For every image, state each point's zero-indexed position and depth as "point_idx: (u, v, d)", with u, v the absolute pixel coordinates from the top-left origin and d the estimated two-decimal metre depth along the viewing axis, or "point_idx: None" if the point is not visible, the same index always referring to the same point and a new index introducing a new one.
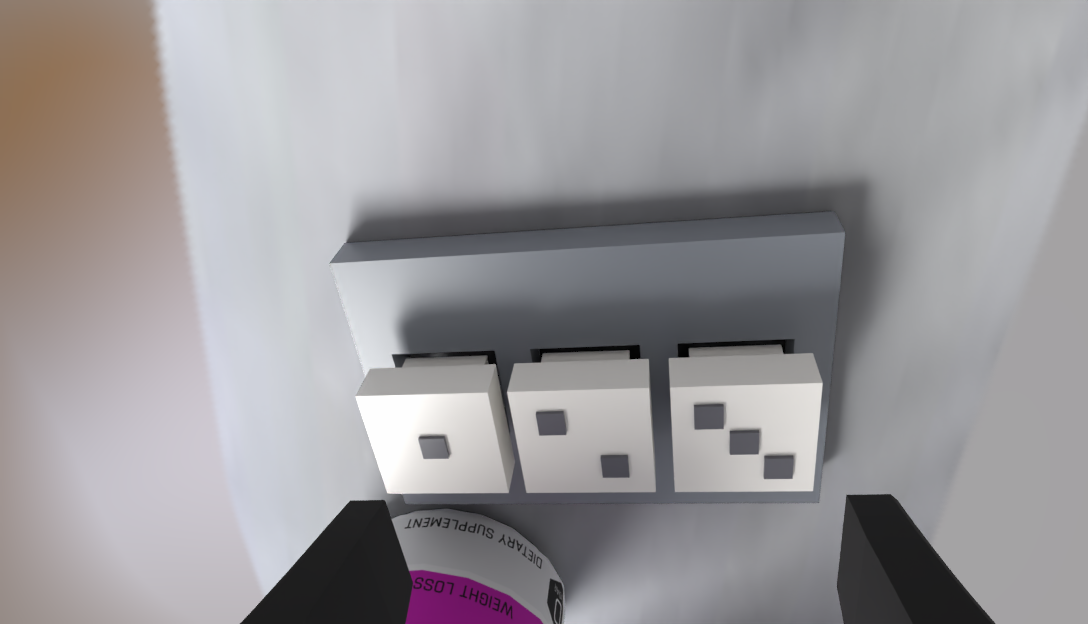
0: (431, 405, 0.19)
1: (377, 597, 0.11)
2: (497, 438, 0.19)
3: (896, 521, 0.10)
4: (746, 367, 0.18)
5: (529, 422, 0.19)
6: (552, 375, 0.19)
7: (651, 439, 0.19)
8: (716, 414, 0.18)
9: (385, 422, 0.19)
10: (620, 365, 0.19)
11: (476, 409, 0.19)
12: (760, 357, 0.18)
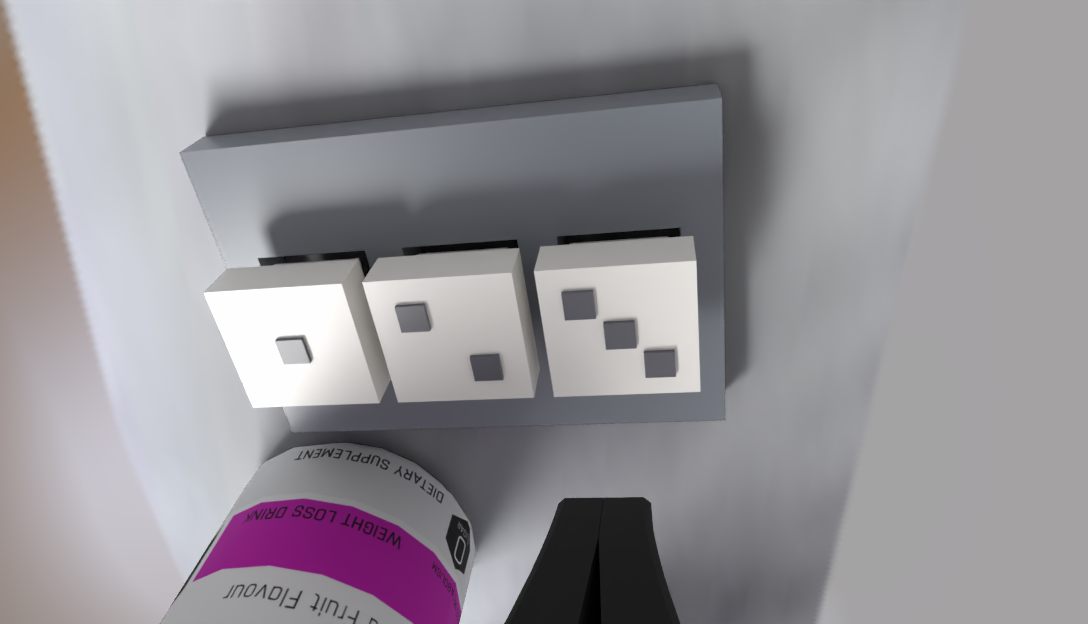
0: (284, 301, 0.17)
1: None
2: (359, 338, 0.18)
3: (633, 523, 0.10)
4: (619, 251, 0.16)
5: (390, 317, 0.17)
6: (414, 266, 0.17)
7: (522, 335, 0.17)
8: (587, 303, 0.16)
9: (239, 322, 0.18)
10: (487, 254, 0.17)
11: (332, 304, 0.17)
12: (636, 242, 0.17)
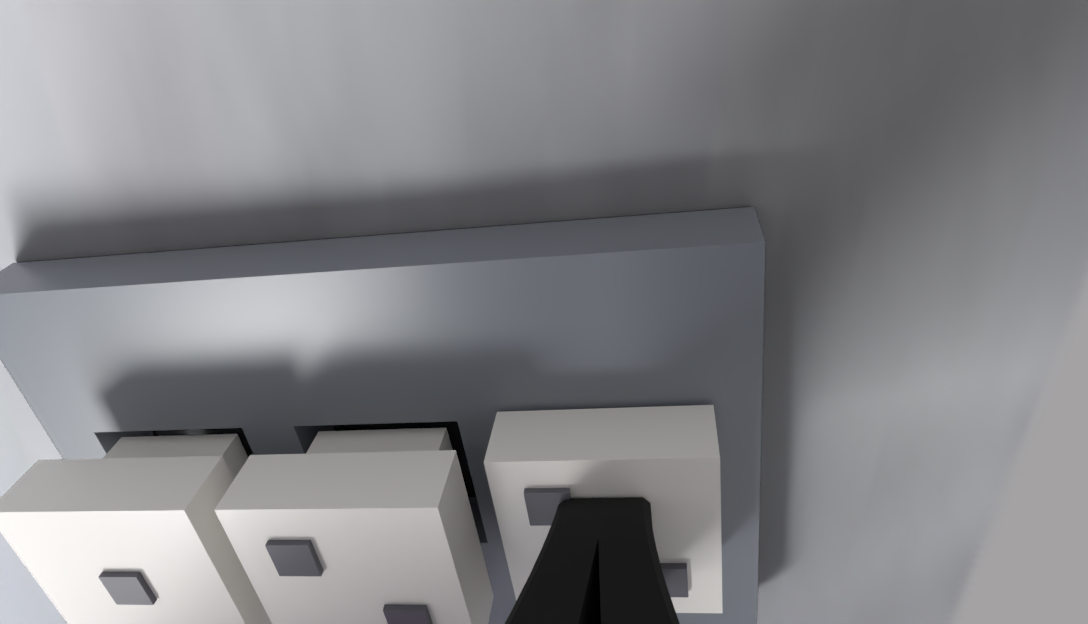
0: (105, 527, 0.12)
1: None
2: (222, 576, 0.12)
3: (633, 522, 0.10)
4: (608, 428, 0.11)
5: (262, 555, 0.11)
6: (297, 479, 0.11)
7: (459, 583, 0.11)
8: None
9: (45, 550, 0.12)
10: (407, 462, 0.11)
11: (175, 534, 0.11)
12: (633, 411, 0.12)
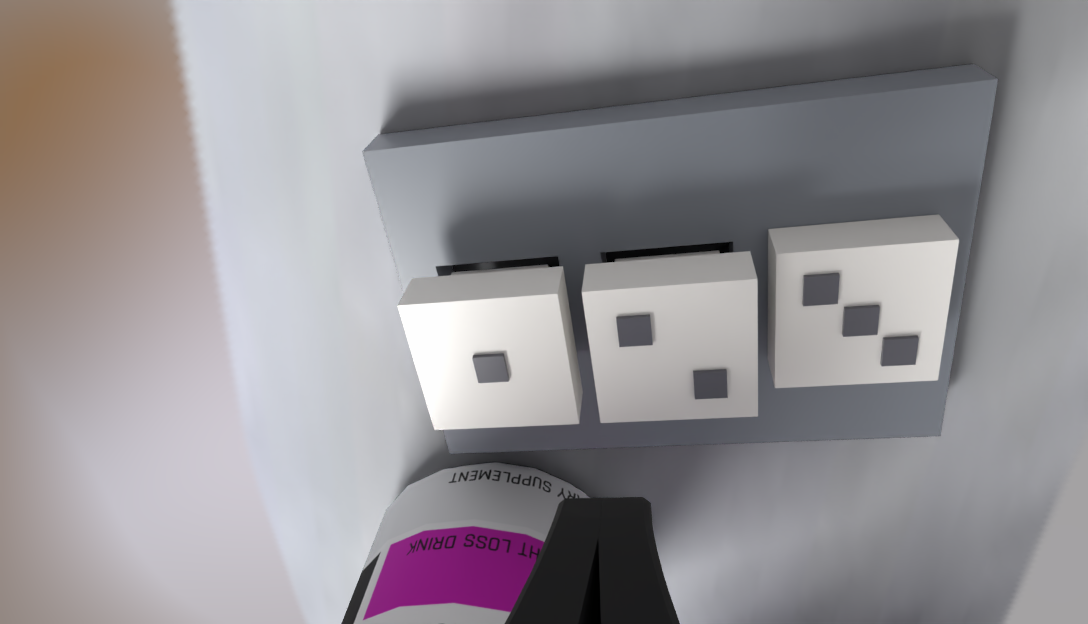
0: (488, 313, 0.16)
1: None
2: (567, 354, 0.16)
3: (633, 523, 0.10)
4: (863, 231, 0.15)
5: (607, 330, 0.16)
6: (634, 273, 0.15)
7: (756, 348, 0.15)
8: (830, 287, 0.15)
9: (432, 338, 0.16)
10: (716, 259, 0.15)
11: (543, 316, 0.16)
12: (877, 222, 0.16)
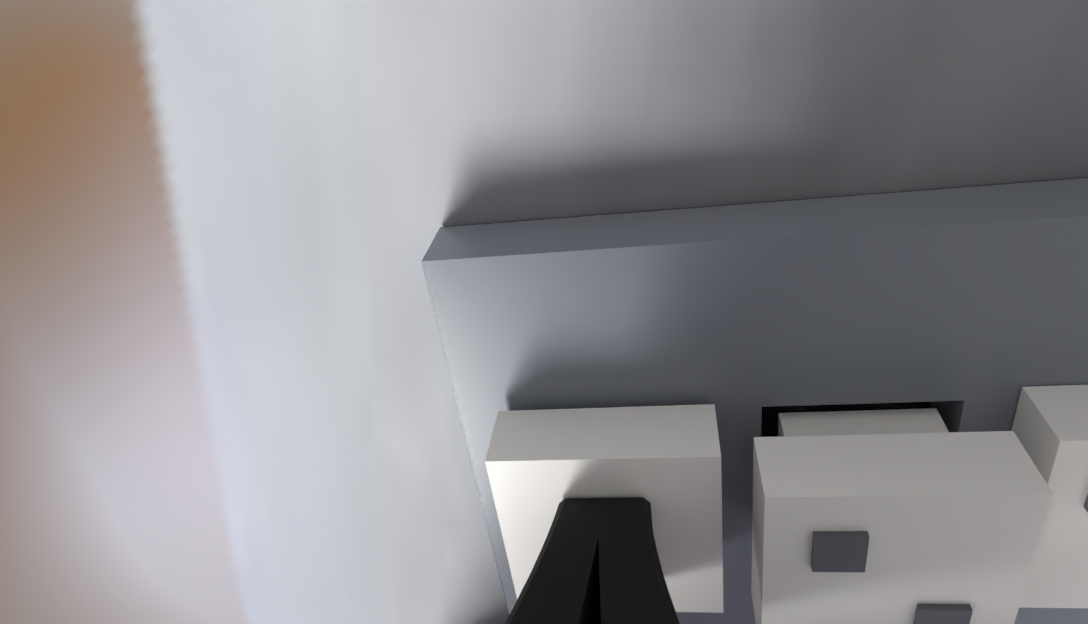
0: (616, 476, 0.11)
1: None
2: (721, 529, 0.11)
3: (633, 523, 0.10)
4: None
5: (795, 548, 0.10)
6: (839, 463, 0.10)
7: (1022, 580, 0.10)
8: None
9: (531, 503, 0.12)
10: (964, 444, 0.10)
11: (695, 484, 0.11)
12: None
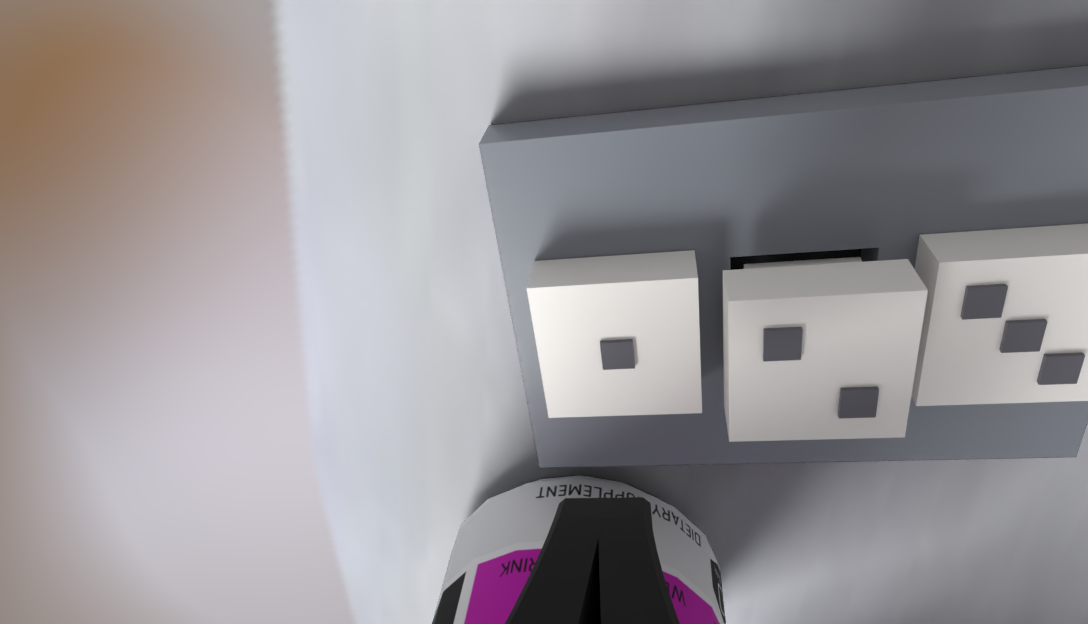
0: (622, 297, 0.15)
1: None
2: (699, 340, 0.16)
3: (633, 523, 0.10)
4: (1030, 239, 0.14)
5: (751, 343, 0.14)
6: (782, 281, 0.14)
7: (913, 364, 0.14)
8: (993, 299, 0.14)
9: (559, 322, 0.16)
10: (872, 267, 0.14)
11: (679, 301, 0.15)
12: (1042, 229, 0.15)
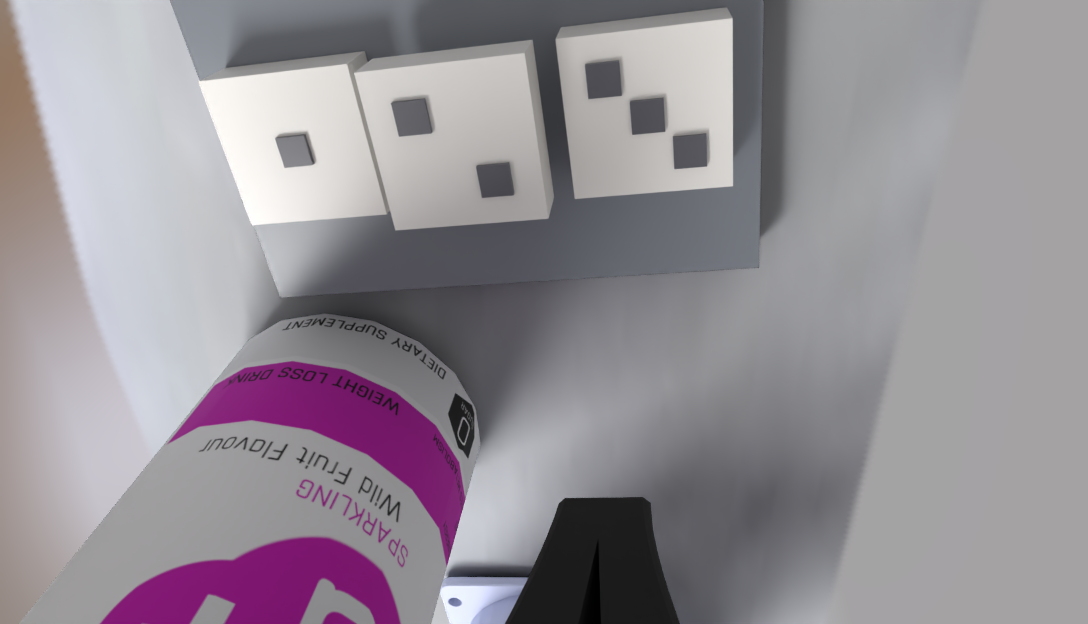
0: (285, 88, 0.16)
1: None
2: (366, 134, 0.17)
3: (633, 523, 0.10)
4: (647, 21, 0.15)
5: (386, 119, 0.15)
6: (413, 59, 0.15)
7: (536, 137, 0.15)
8: (613, 78, 0.15)
9: (236, 118, 0.17)
10: (496, 46, 0.15)
11: (337, 90, 0.16)
12: (665, 15, 0.15)
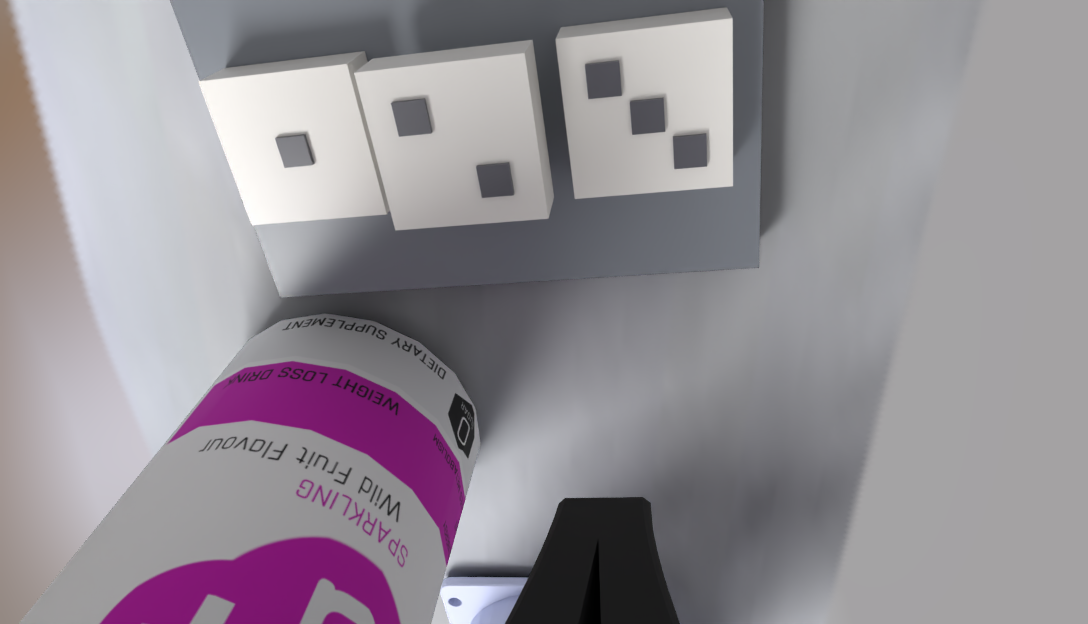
0: (285, 88, 0.16)
1: None
2: (366, 134, 0.17)
3: (633, 523, 0.10)
4: (647, 21, 0.15)
5: (386, 119, 0.15)
6: (413, 59, 0.15)
7: (536, 137, 0.15)
8: (613, 78, 0.15)
9: (236, 118, 0.17)
10: (496, 46, 0.15)
11: (337, 90, 0.16)
12: (665, 15, 0.15)
